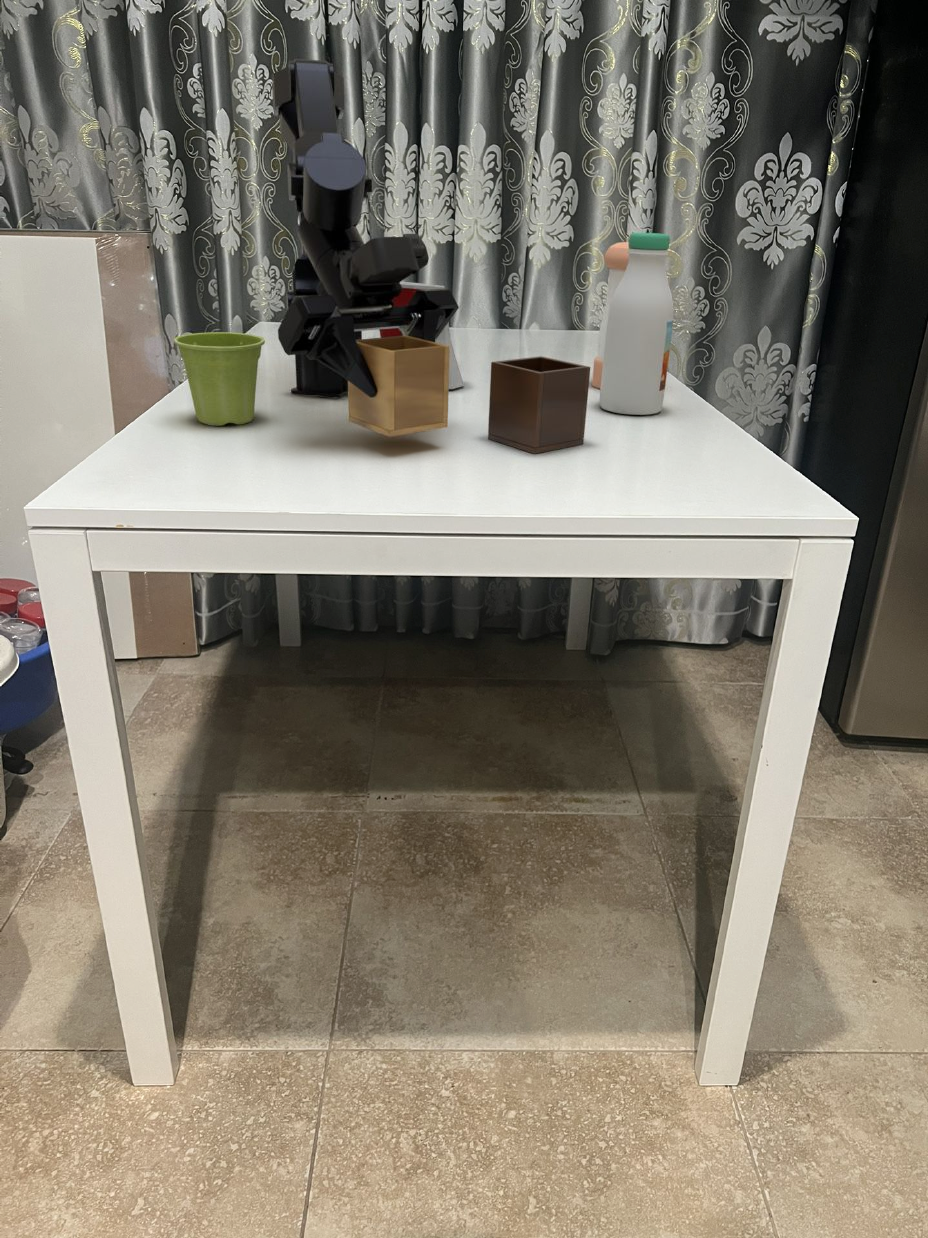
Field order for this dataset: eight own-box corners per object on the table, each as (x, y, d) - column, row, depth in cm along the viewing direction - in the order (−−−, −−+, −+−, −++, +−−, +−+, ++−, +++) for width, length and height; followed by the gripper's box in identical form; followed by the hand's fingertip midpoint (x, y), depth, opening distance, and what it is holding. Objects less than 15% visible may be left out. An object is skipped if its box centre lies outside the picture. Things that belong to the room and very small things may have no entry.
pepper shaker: (609, 392, 120) (625, 236, 112) (582, 382, 126) (595, 233, 118) (655, 390, 123) (674, 237, 115) (626, 379, 129) (642, 233, 121)
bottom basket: (487, 438, 96) (491, 361, 93) (536, 429, 101) (541, 355, 97) (534, 454, 91) (540, 373, 88) (583, 444, 96) (590, 366, 92)
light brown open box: (348, 421, 92) (346, 340, 89) (405, 412, 96) (405, 335, 93) (389, 436, 87) (389, 351, 84) (447, 427, 92) (450, 345, 88)
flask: (458, 392, 117) (460, 311, 113) (404, 388, 118) (404, 308, 114) (469, 382, 124) (472, 305, 119) (417, 378, 125) (418, 302, 120)
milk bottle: (648, 419, 107) (670, 235, 98) (588, 409, 110) (605, 231, 102) (671, 408, 113) (694, 234, 104) (613, 399, 116) (631, 230, 108)
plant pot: (285, 415, 103) (280, 336, 99) (240, 434, 95) (234, 348, 91) (213, 407, 105) (206, 329, 102) (164, 424, 97) (155, 340, 93)
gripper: (286, 200, 80) (358, 347, 77) (449, 203, 91) (517, 332, 88) (249, 285, 89) (313, 420, 86) (403, 279, 100) (463, 398, 97)
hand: (405, 390), depth 89 cm, fingers closed on light brown open box, 7 cm apart
